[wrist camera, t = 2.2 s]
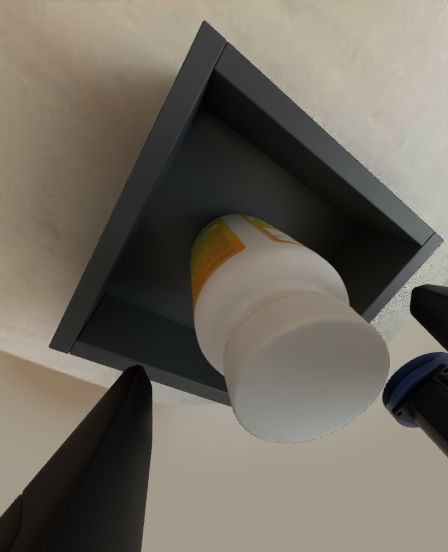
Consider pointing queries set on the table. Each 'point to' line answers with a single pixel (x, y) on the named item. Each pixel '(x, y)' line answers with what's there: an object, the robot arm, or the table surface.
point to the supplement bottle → (282, 332)
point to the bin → (223, 201)
